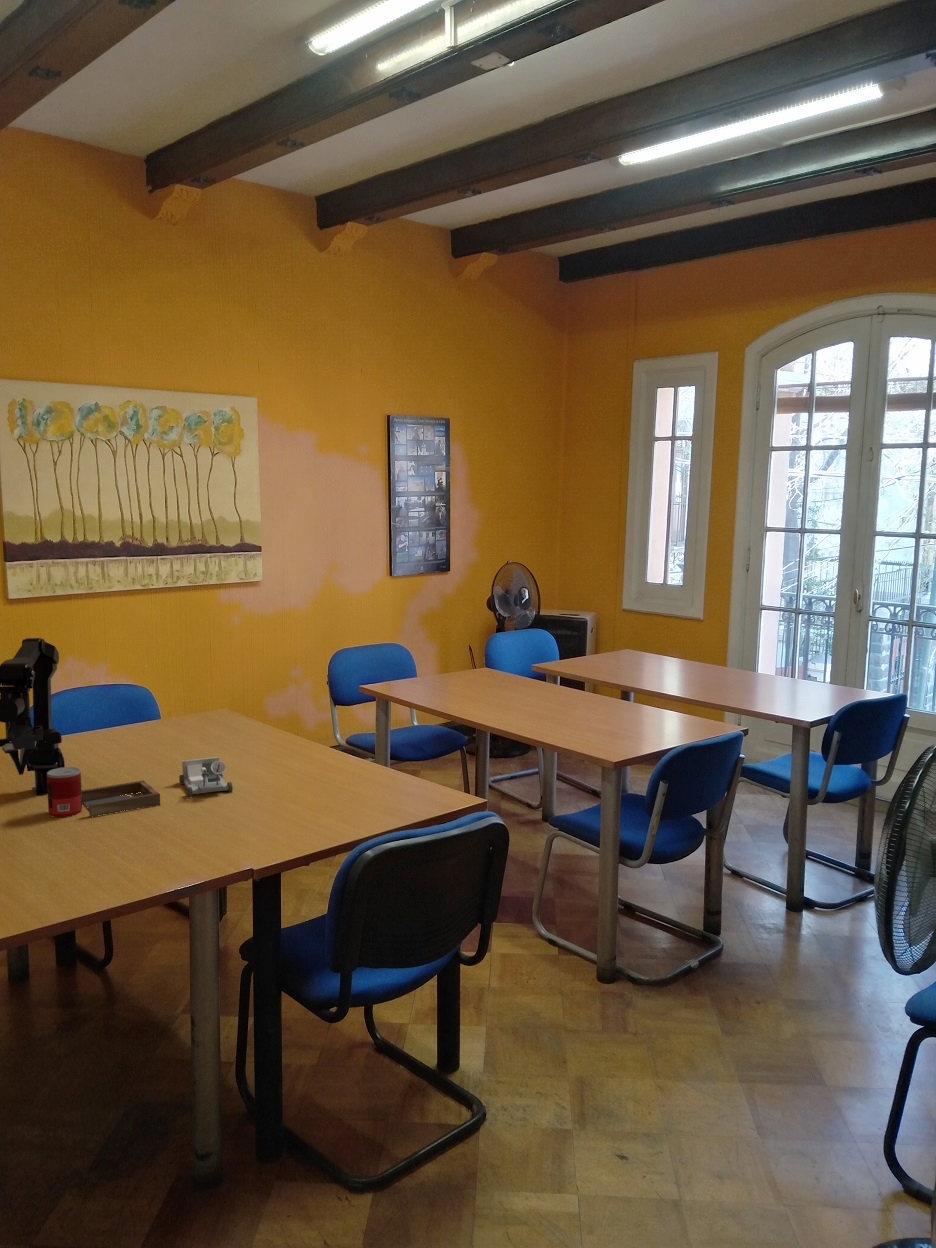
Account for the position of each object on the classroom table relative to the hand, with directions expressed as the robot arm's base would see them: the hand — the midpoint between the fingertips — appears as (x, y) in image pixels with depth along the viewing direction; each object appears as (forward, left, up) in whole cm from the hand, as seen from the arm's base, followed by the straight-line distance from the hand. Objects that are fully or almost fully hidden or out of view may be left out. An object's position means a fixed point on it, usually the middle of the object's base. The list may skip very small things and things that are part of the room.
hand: (20, 774), depth 235 cm
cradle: (0, +22, -12) cm, 25 cm away
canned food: (0, +10, -12) cm, 16 cm away
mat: (0, +22, -12) cm, 25 cm away
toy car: (0, +47, -12) cm, 48 cm away
